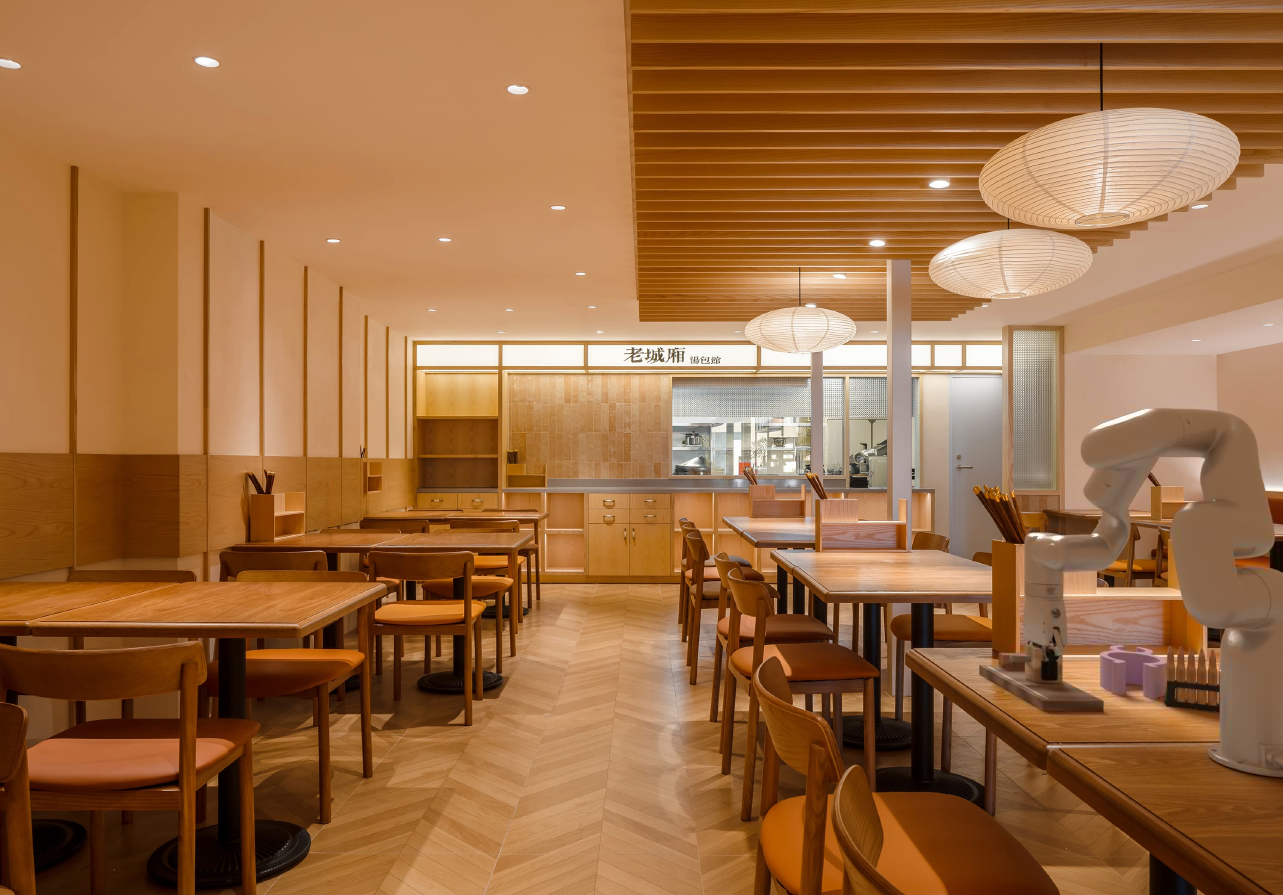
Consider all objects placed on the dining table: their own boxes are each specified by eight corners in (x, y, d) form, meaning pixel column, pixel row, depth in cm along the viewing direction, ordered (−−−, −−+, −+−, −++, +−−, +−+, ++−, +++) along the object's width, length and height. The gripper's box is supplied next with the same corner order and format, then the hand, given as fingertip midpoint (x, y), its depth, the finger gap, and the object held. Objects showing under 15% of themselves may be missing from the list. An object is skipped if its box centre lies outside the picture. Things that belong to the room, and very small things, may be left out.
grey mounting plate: (1103, 711, 160) (1103, 685, 160) (1043, 710, 159) (1043, 684, 159) (1030, 674, 188) (1030, 652, 188) (979, 673, 187) (979, 651, 187)
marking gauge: (1062, 682, 173) (1062, 649, 173) (1015, 682, 172) (1015, 648, 172) (1052, 677, 177) (1052, 644, 177) (1006, 677, 176) (1006, 644, 176)
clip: (1099, 673, 190) (1099, 643, 191) (1162, 680, 184) (1162, 649, 185) (1100, 693, 173) (1100, 660, 173) (1170, 702, 167) (1170, 668, 167)
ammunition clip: (1165, 706, 164) (1165, 645, 164) (1164, 703, 165) (1164, 644, 166) (1230, 713, 159) (1230, 651, 159) (1228, 711, 161) (1228, 649, 161)
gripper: (1083, 597, 167) (1083, 688, 166) (1040, 585, 183) (1040, 667, 183) (1047, 597, 166) (1046, 687, 166) (1007, 585, 183) (1007, 667, 183)
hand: (1043, 676), depth 175 cm, fingers closed on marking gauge, 4 cm apart
